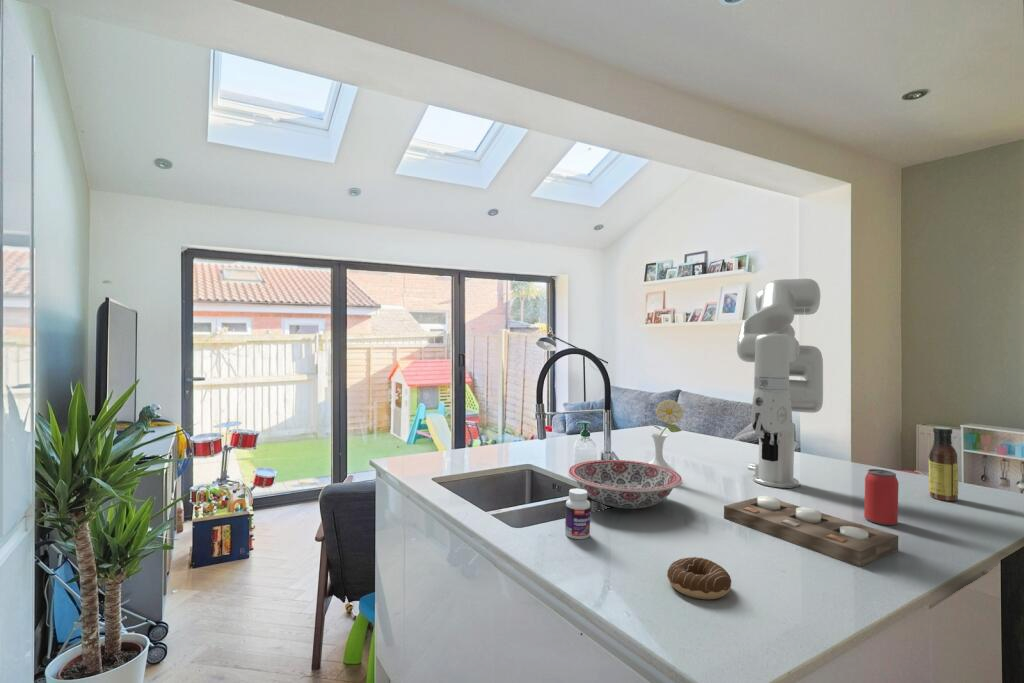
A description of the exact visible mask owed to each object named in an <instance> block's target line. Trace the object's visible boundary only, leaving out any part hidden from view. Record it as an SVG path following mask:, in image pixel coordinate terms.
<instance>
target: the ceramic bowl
mask: <svg viewBox="0 0 1024 683" xmlns="http://www.w3.org/2000/svg"><path fill="white" fill-rule="evenodd" d="M675 471H676V470H675ZM675 471H673V470H670V469H668V468H665V467H662V466H658V465H654V464H649V462H642V461H635V460H623V459H622V460H621V459H597V460H589V461H584V462H579V463H575V464H574V465H572V466H570V467H569V469H568V471H567V472H568V476H569V477H570V478H571V479H573V481H576V484H577V485H578V486H579V489H584V490H586V491H587V497H588V498H590V499H592V500H593V501H595V502H597V503H599V504H602V505H604V506H609V507H612V508H619V509H631V510H632V509H644V508H648V507H651V506H655V505H657V504H658V503H659V504H660V503H661V502H662V501H663V500H665V499H666V498H667V497H668V496H669V495H670V494H671V493H672V491H673V489H675V488H678V487H679V486H680V485H681V484H682V483H683V477H682V475H681V474H679V473H678V472H677V471H676V472H677V473H676V472H675Z"/></svg>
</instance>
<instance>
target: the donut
mask: <svg viewBox="0 0 1024 683" xmlns="http://www.w3.org/2000/svg"><path fill="white" fill-rule="evenodd" d="M666 571H667V573H666V577H667V580H668V582H669V584H670V585H671V586H672V587H673V588H674V589H675V590H676V591H677V592H679V593H681V594H683V595H685V596H688V597H690V598H694V599H699V600H717V599H720V598H723V597H725V596H726V595H727V594H728V593H729V592H730V590H731V587H732V578H731V575H730V574H729V573H728V571H727V570H726V569H725V568H723V567H722V566H721V565H720V564H718V563H716V562H715V561H712V560H710V559H708V558H705V557H704V558H703V557H697V556H693V557H684V558H679V559H677V560H674V561H673V562H672V563H671V564H670V565H669V567H668V569H667V570H666Z"/></svg>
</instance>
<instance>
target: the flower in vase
mask: <svg viewBox="0 0 1024 683" xmlns="http://www.w3.org/2000/svg"><path fill="white" fill-rule="evenodd" d="M684 412H685V411H684V410H683V407H682V405H681V404H680V403H679V402H678V401H676V400H674V399H673V400H671V399H670V398H669V399H667V400H666V399H664V400H663V401H661V402H659V403H658V405H656V409H655V414H656V417H657V419H658V421H660V422H662V423H664V424H665V423H666V426H665V428H663V429H662V428H661V427H659V426H657V425H655V424H653V423H652V422H651V425H652V426H653V427H654V428H656V429H658V430H660V431H661V433H660V432H658V433H657V432H654V433H651V434H650V436H651V437H652V439H653V443H654V457H653V458H652V460H650V461H649V462H648V463H649V464H654V465H658V466H662V467H665V468H668V469H670V470H673V471H675V472H676V473H678V472H677V471H676V470H675V469H674V467H672V466H671V464H669V463H668V462H667V461H666V460H665V459H664V454H663V448H664V445H665V444H664V443H665V441H666V438H667V437H668V434H666V433H664V432H665V431H666V429H668V430H669V432H671V433H679V432H682V429H681V428H680V427H679V426H678V425H677V424H675V423H678V422H680V421H681V420H682V418H683V415H684Z"/></svg>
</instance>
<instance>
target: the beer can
mask: <svg viewBox="0 0 1024 683" xmlns="http://www.w3.org/2000/svg"><path fill="white" fill-rule="evenodd" d="M896 475H897V473H895V472H893V471H891V470H890V471H889V470H887V469H878V468H870V469H868V470H867V473H866V475H865V477H864V504H863V506H864V509H863V510H864V511H863V512H864V513H863V515H864V516H863V517H864V518H865V520H867V521H868V520H869V521H868V522H870V521H871V523H873V522H874V523H873V524H876V523H878V524H877V525H881V524H883V526H895V525H897V524H898V522H899V521H898V520H899V518H898V517H899V515H898V514H899V481H898V478H897V476H896Z"/></svg>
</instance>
